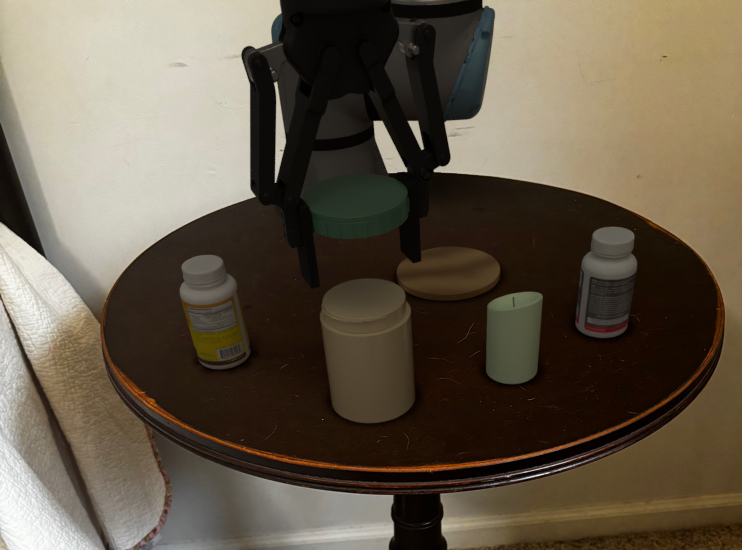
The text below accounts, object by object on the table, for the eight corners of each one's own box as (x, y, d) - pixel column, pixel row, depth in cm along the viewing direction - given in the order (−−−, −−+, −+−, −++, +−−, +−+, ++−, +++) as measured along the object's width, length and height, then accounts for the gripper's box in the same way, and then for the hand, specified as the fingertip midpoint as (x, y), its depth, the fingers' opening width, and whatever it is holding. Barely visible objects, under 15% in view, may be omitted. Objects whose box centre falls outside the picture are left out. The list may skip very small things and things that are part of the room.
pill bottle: (638, 328, 82) (654, 236, 76) (599, 345, 81) (612, 252, 74) (601, 308, 86) (613, 218, 79) (563, 324, 84) (572, 233, 77)
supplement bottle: (216, 339, 85) (193, 247, 78) (261, 347, 84) (242, 254, 76) (187, 367, 82) (161, 272, 74) (234, 376, 80) (212, 280, 73)
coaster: (381, 266, 95) (380, 260, 95) (471, 244, 98) (471, 238, 98) (422, 310, 87) (422, 304, 87) (518, 285, 90) (519, 278, 90)
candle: (475, 369, 79) (476, 291, 73) (513, 351, 81) (517, 274, 75) (508, 391, 76) (512, 312, 70) (547, 372, 78) (554, 294, 72)
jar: (320, 388, 78) (305, 288, 70) (395, 367, 80) (388, 268, 72) (348, 432, 72) (336, 330, 65) (429, 408, 74) (425, 306, 67)
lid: (426, 224, 62) (425, 202, 61) (323, 248, 60) (320, 226, 59) (385, 186, 68) (384, 166, 67) (290, 207, 66) (287, 186, 65)
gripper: (452, -94, 56) (455, 224, 72) (154, -54, 51) (228, 279, 67) (503, -81, 51) (494, 257, 67) (178, -35, 46) (252, 319, 62)
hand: (361, 268), depth 67 cm, fingers closed on lid, 8 cm apart
